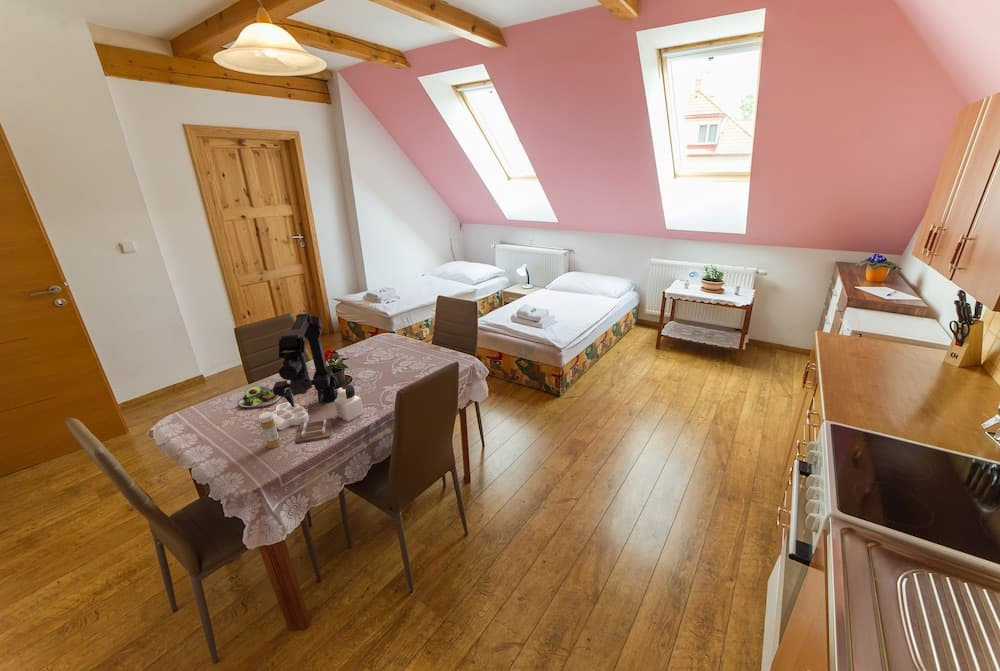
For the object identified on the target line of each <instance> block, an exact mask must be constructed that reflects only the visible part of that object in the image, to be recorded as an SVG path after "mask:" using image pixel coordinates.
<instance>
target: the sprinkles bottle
mask: <svg viewBox="0 0 1000 671" xmlns="http://www.w3.org/2000/svg"><path fill="white" fill-rule="evenodd" d="M258 420H259V422H260V424H261V430H262V432H263V436H264V439H265V441H266V446H267V448H269V449H274V448H275V449H276V448H277V447H279V446H280V445H281V440H280V436H279V434H278V428H276V426H275V423H274V418H273V414H272V411H267V412H262V413H261V414H259V416H258Z"/></svg>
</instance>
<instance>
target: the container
mask: <svg viewBox="0 0 1000 671" xmlns="http://www.w3.org/2000/svg"><path fill="white" fill-rule="evenodd" d="M336 393H337V399H336V400H335V401H334V404H335V409H336V410H335V411H336V413H337V416H338V417H339V418H341V419H343V420H344V421H346V422H350V421H351V420H354V419H356V418H358V417H360V416H361V415H363V414H364V410H363V403H362V398H361V397H359V396H357V395H356V392H355V386H353V385H351V384H346V385H342V386H340V387H338V389H337V392H336Z"/></svg>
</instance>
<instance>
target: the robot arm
mask: <svg viewBox="0 0 1000 671" xmlns="http://www.w3.org/2000/svg"><path fill="white" fill-rule="evenodd" d="M323 323H324V322H323V320H322V319H321V318H320V317H318V316H316V315H312V314H311V313H298V314H296V316H295V321H294V322H293V324H292V325H291V328H290V330H289V331H288V330H287V331H286V332H284V333H283V334H282V335H281V336H280V338H279V339H278V359H279V360H280V359H283V361H282V365H281V366H280V368H279V371H278V375H279V377H280V378H281V379H283V380H279V381H275V383H274V384H273V387H272V388H273V394H274V395H278V396H281V397H283V398H285V400H286V401H287V402H289V403H290V404H291V406H292V407H294V404H295V402H294V399H293V396H298V395H305V394H307V393H308V391H309V389H312V388H313V386H314V390H316V391H317V398H318V403H329V402H335V400H336V399H338V392H336V391H335V390H336V389H335V388H336V387H337V386H339V382H338V378H337V377H336V376H335V375H334V374H333V371H332V369H331V368H330V367H329V366H328V365H327V363H326V357H325V352H324V348H323V344H322V340H321V334H322V332H323V328H324V324H323ZM306 340H307V341H308V344H309V348H310V352H311V357H312V360H313V365H314V369H315V372H314V373H313V377H312V379H311V378H310V374H309V370H308V365H307V363H306V358H305V354H306V346H307V344H306V343H307V341H306ZM288 381H289V383H288Z"/></svg>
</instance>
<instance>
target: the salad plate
mask: <svg viewBox="0 0 1000 671" xmlns="http://www.w3.org/2000/svg"><path fill="white" fill-rule="evenodd" d="M281 397H282V396H278V395H274V394H273V387H264V386H259V385H251V386H250V387H248V388H247V389H245V391H244V396H243V398H241V399H240V401H239V403H238V407H240V408H242V409H247V410H249V409H255V408H261V407H262V408H263V407H268V406H271V405H273V404H275V403H277V402H279V401H280V400H281ZM266 401H270V402H267V403H265V402H266ZM262 403H265V404H262Z"/></svg>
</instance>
